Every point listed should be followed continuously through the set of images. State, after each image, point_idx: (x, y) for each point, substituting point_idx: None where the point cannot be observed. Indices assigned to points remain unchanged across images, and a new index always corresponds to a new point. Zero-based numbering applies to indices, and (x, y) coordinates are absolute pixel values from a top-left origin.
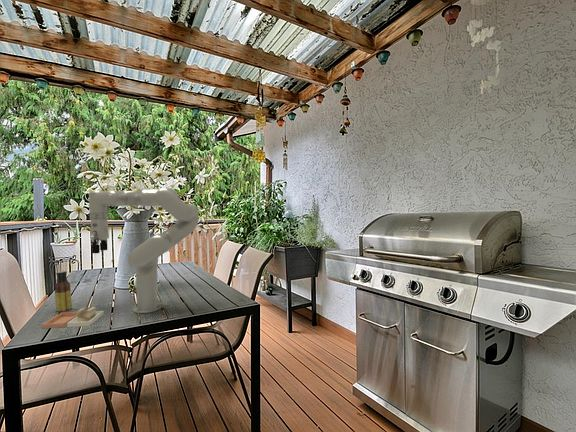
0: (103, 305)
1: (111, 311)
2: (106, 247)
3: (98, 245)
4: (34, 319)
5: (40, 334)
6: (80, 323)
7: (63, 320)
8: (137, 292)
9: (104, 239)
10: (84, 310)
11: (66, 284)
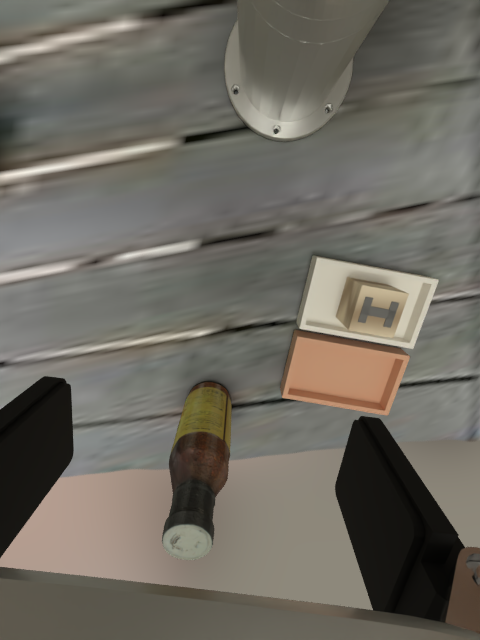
0: (165, 288)
1: (260, 238)
2: (45, 405)
3: (444, 526)
4: (261, 455)
5: (415, 398)
6: (425, 307)
7: (329, 373)
8: (333, 76)
9: (239, 596)
10: (395, 314)
11: (212, 461)
